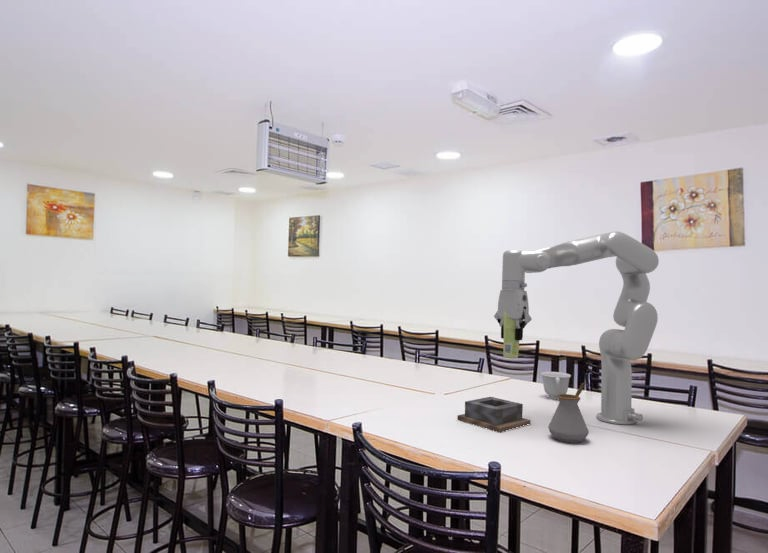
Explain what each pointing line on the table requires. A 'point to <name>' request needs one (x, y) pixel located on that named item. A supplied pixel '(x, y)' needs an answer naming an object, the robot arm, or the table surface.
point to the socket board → (494, 414)
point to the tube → (510, 338)
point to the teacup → (555, 383)
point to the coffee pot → (569, 419)
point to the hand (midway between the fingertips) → (511, 338)
